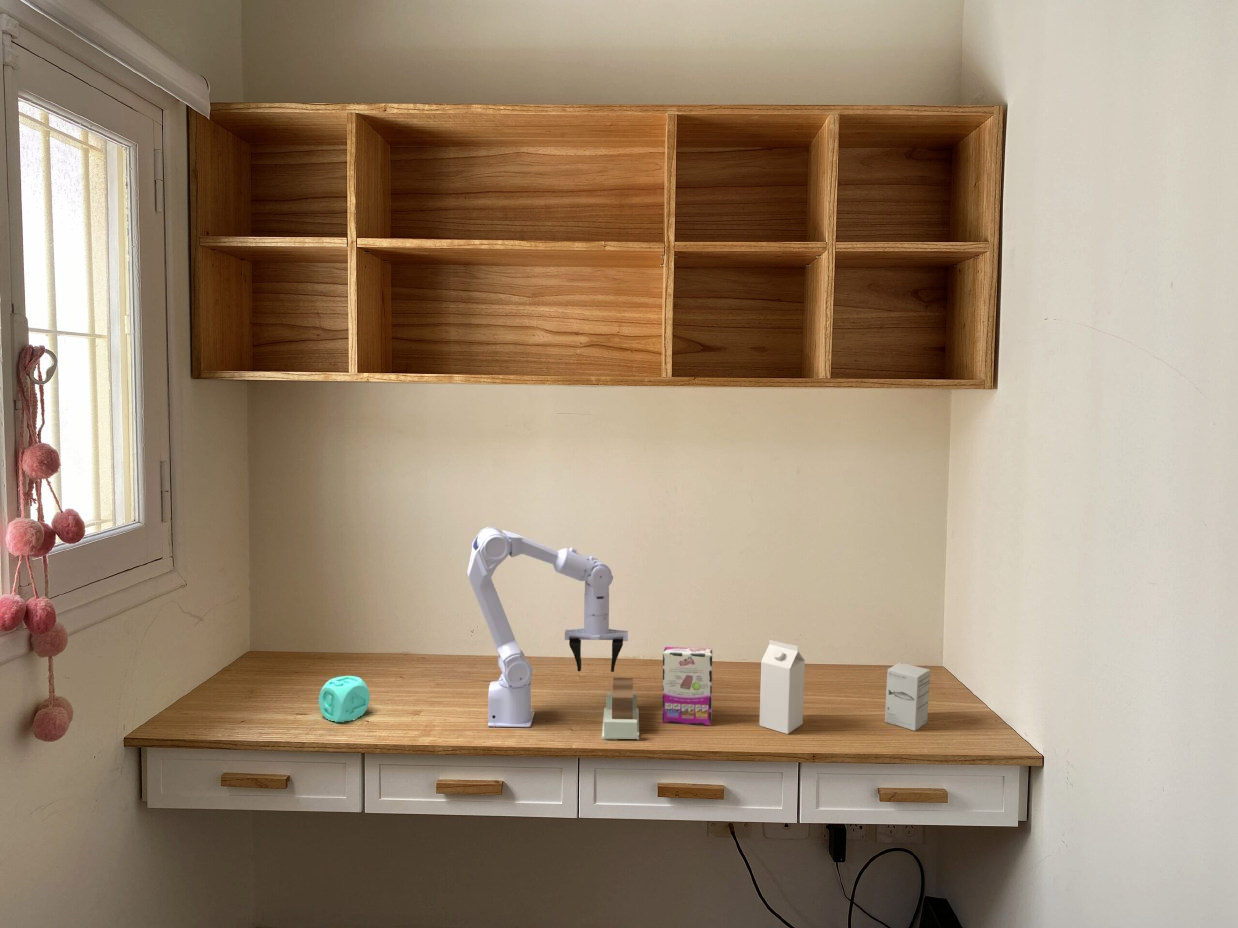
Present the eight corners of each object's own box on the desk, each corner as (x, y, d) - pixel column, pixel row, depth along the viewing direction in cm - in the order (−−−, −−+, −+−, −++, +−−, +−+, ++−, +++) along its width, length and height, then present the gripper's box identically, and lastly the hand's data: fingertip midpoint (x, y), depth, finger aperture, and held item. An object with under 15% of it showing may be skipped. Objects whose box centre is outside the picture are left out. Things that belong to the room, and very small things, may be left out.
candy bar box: (711, 717, 188) (713, 647, 187) (711, 726, 183) (713, 654, 182) (663, 714, 190) (664, 645, 188) (661, 722, 185) (662, 652, 183)
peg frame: (639, 740, 175) (639, 722, 175) (601, 740, 175) (601, 721, 175) (638, 709, 192) (638, 692, 192) (604, 708, 192) (604, 691, 192)
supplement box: (883, 722, 186) (885, 668, 185) (897, 713, 192) (899, 660, 191) (915, 732, 181) (917, 676, 180) (928, 722, 187) (931, 668, 186)
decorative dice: (370, 713, 188) (369, 680, 187) (341, 725, 181) (341, 690, 180) (347, 706, 192) (346, 673, 191) (318, 717, 185) (317, 683, 185)
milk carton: (774, 716, 189) (777, 636, 187) (802, 724, 185) (805, 642, 183) (759, 726, 184) (761, 643, 182) (787, 734, 179) (790, 650, 177)
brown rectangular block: (632, 724, 177) (632, 697, 177) (611, 724, 178) (612, 697, 177) (632, 703, 189) (632, 678, 189) (613, 702, 189) (613, 677, 189)
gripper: (563, 617, 185) (563, 675, 186) (628, 618, 184) (627, 676, 186) (566, 608, 192) (565, 664, 193) (628, 609, 191) (627, 666, 193)
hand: (596, 670), depth 190 cm, fingers open, 7 cm apart
